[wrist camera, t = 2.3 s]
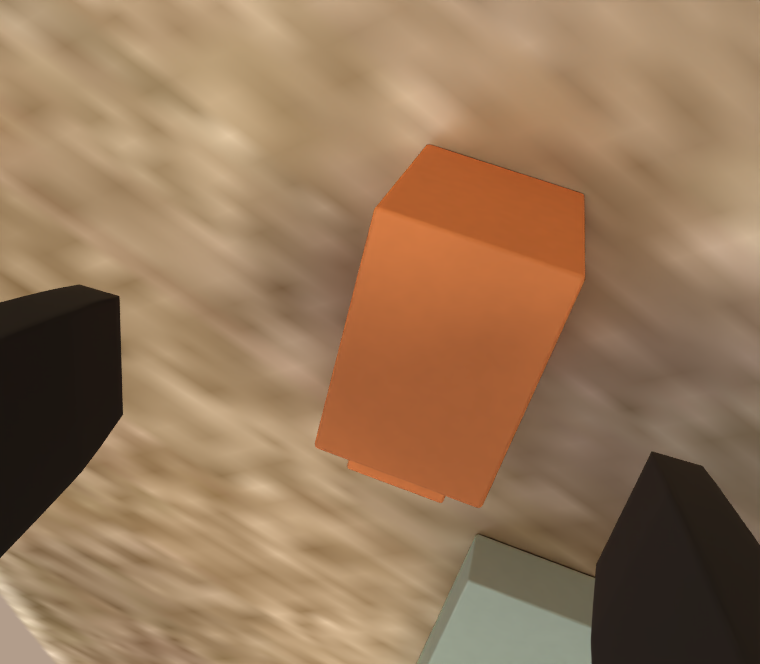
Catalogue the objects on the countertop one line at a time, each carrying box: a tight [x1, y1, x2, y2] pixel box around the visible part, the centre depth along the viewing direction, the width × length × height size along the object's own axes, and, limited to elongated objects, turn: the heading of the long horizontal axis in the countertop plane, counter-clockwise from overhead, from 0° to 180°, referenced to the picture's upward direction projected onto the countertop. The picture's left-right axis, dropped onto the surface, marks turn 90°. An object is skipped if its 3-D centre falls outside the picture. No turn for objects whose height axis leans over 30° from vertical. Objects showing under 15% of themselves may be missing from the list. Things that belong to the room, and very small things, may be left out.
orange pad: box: [315, 145, 585, 508], centre depth 17 cm, size 4×10×5 cm, turn 166°
